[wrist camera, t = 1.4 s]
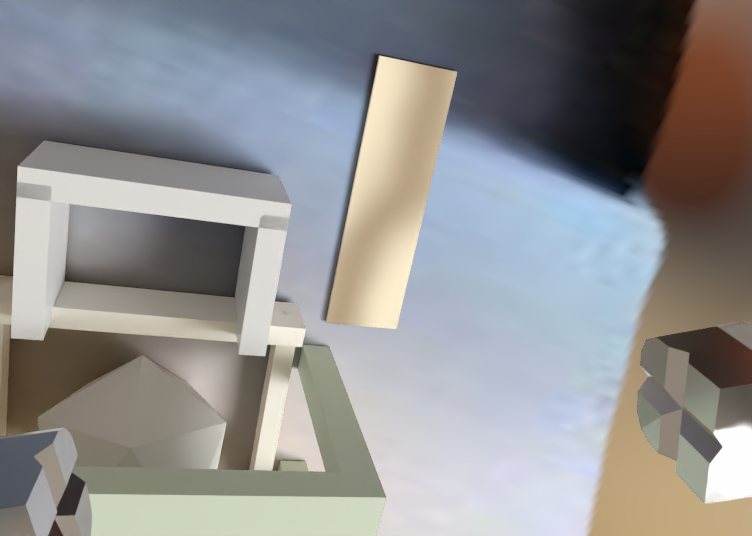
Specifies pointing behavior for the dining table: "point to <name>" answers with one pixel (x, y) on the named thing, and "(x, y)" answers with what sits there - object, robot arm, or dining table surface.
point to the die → (139, 421)
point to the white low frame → (145, 306)
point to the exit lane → (389, 191)
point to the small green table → (254, 482)
